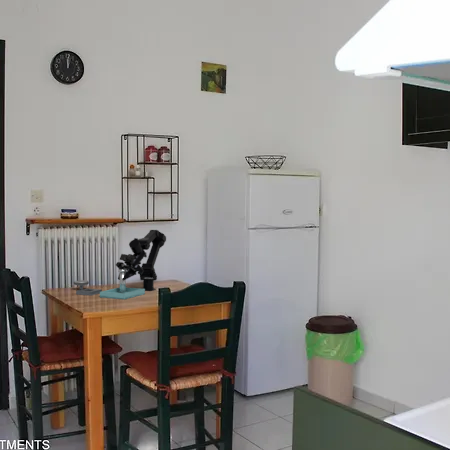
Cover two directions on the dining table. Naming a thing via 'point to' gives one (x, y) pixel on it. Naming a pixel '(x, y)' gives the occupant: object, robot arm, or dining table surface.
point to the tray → (122, 293)
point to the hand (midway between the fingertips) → (120, 279)
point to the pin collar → (88, 291)
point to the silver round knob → (81, 283)
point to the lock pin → (122, 283)
